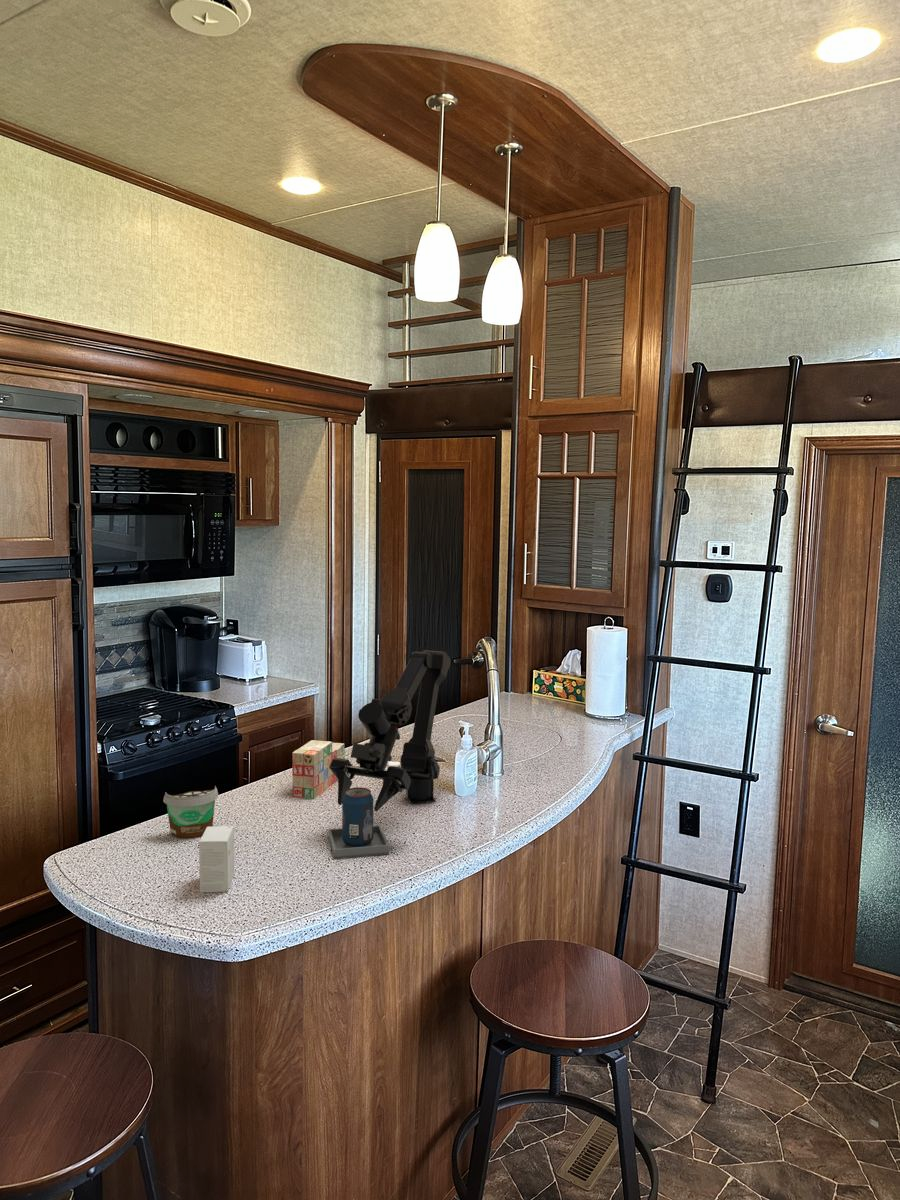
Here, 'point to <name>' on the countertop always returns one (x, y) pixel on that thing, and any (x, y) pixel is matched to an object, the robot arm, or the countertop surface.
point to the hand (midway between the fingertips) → (357, 807)
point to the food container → (190, 812)
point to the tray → (342, 851)
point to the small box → (216, 859)
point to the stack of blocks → (314, 768)
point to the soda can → (357, 817)
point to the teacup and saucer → (392, 764)
